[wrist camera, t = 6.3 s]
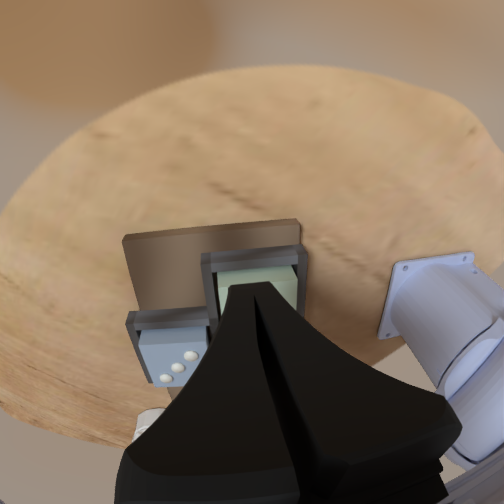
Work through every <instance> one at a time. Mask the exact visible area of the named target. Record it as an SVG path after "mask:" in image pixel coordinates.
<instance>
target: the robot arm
mask: <svg viewBox="0 0 504 504" xmlns="http://www.w3.org/2000/svg"><path fill="white" fill-rule="evenodd" d="M474 256H475V255H474V253H473V252H472V251H469V252H463V253H456V254H449V255H442V256H435V257H428V258H421V259H414V260H406V261H399V262H397V263H396V264H395V265H394V267H393V271H392V276H391V281H390V286H389V290H388V294H387V299H386V303H385V307H384V311H383V315H382V319H381V323H380V327H379V330H378V334H377V337H378V338H379V339H380V340H383V339H388V338H392V337H396V336H400V335H401V336H402V337H403V339H404V340H405V342H406V343H407V345H408V346H409V348H410V349H411V350H412V352H413V353H414V355H415V357H416V358H417V359H418V361H419V363H420V364H421V365H422V367H423V369H424V370H425V372H426V373H427V375H428V376H429V378H430V379H431V381H432V383H433V384H434V386H435V387H436V389H437V390H436V391H435V393H433V392H430V391H427V390H424V389H421V388H418V387H415V386H412V385H409V384H407V383H404V382H402V381H399V380H397V379H395V378H393V377H390V376H388V375H386V374H384V373H382V372H380V371H378V370H376V369H374V368H372V367H370V366H369V365H367V364H365V363H363V362H361V361H360V360H358V359H356V358H354V357H353V356H351V355H350V354H348V353H347V352H345V351H344V350H342V349H341V348H339V347H338V346H336V345H335V344H334V343H332V342H331V341H330V340H328V339H327V338H326V337H325V336H323V335H322V334H321V333H320V332H319V331H317V330H316V329H315V328H314V327H313V326H312V325H311V324H309V323H308V322H307V321H306V320H305V319H304V318H303V317H302V316H301V315H300V314H299V313H298V312H297V311H296V310H295V309H294V308H293V307H292V306H291V305H290V304H289V303H288V302H287V301H286V299H285V298H284V297H283V296H282V295H281V294H280V293H279V291H278V290H277V289H276V288H275V287H274V285H273V284H272V283H271V282H270V281H264V282H255V283H245V284H235V285H230V287H229V288H228V294H227V299H226V303H225V307H224V310H223V313H222V316H221V319H220V321H219V324H218V327H217V329H216V331H215V333H214V336H213V338H212V340H211V342H210V344H209V346H208V348H207V350H206V352H205V354H204V356H203V357H202V359H201V361H200V363H199V364H198V366H197V368H196V369H195V371H194V372H193V374H192V375H191V377H190V378H189V380H188V381H187V383H186V384H185V385H184V387H183V388H182V390H181V391H180V392H179V394H178V395H177V396H176V397H175V399H174V400H173V401H172V402H171V403H170V404H169V406H168V407H167V408H166V409H165V410H164V411H163V413H162V414H161V415H160V416H159V417H158V418H157V419H156V420H155V421H154V422H153V424H152V425H151V426H149V427H148V428H147V429H146V430H145V431H144V432H143V433H142V434H141V435H140V436H139V437H138V438H137V439H136V440H135V441H134V442H132V443H131V444H130V445H129V446H128V447H127V448H126V449H125V451H124V453H123V456H122V459H121V462H120V466H119V470H118V473H117V478H116V486H115V499H114V504H504V289H502V288H501V287H500V286H499V285H498V284H497V283H496V282H495V281H494V280H492V279H491V278H490V277H489V276H488V275H487V274H485V273H484V272H483V271H482V270H481V269H479V268H478V267H477V266H476V265H475V264H473V260H474ZM404 266H405V268H403V267H404ZM443 454H444V455H445V456H446V457H447V458H448V459H449V460H450V461H451V462H453V463H454V464H456V465H459V466H460V467H462V468H463V469H465V470H466V471H467V472H465V473H464V474H462V475H460V476H458V477H456V478H455V479H453V480H451V481H449V482H448V483H446V484H444V483H443V481H442V479H441V477H440V474H439V473H441V472H442V471H443V466H442V464H441V462H440V460H439V458H440V457H441V456H442V455H443ZM0 504H5V503H4V502H3V501H1V500H0Z"/></svg>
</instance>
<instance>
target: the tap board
mask: <svg viewBox="0 0 504 504" xmlns="http://www.w3.org/2000/svg"><path fill="white" fill-rule="evenodd" d="M299 238H300V224H299V222H298V221H297V220H296V219H283V220H270V221H258V222H246V223H235V224H224V225H213V226H202V227H192V228H182V229H172V230H163V231H153V232H144V233H135V234H127V235H125V236H124V238H123V240H122V244H123V249H124V253H125V257H126V261H127V265H128V269H129V273H130V276H131V280H132V284H133V287H134V291H135V294H136V298H137V301H138V305H139V308H140V311H129V313H128V317H127V320H126V323H125V325H126V328H127V330H128V333H129V336H130V339H131V341H132V344H133V346H134V349H135V352H136V354H137V357H138V359H139V361H140V364H141V366H142V369H143V371H144V374H145V376H146V378H147V381H148V383H153V381H152V379H151V376H150V374H149V371H148V369H147V366H146V364H145V361H144V359H143V356H142V354H141V351H140V348H139V346H138V344H139V340H140V335H141V331H142V330H154V329H170V328H185V327H198V326H207V327H208V333H209V338H210V342H211V340H212V338H213V336H214V333H215V331H216V329H217V327H218V324H219V321H220V319H221V316H222V315H221V308H220V300H219V292H218V277H217V272H223V271H233V270H244V269H254V268H264V267H274V266H284V265H291V266H292V268H293V271H294V273H295V275H296V277H297V279H298V282H297V304H296V311H297V312H298V313H299V314H300V315H301V316H302V317H303V318H304V310H305V295H306V278H307V259H308V254H307V252H306V250H305V249H304V247H303V245H302V244H299ZM183 387H184V386H179V387H167V389H168V392H169V394H170V397H171V399H172V401H173V400H174V399H175V397H176V396H177V395H178V394H179V392H180V391H181V390H182V388H183Z"/></svg>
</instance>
